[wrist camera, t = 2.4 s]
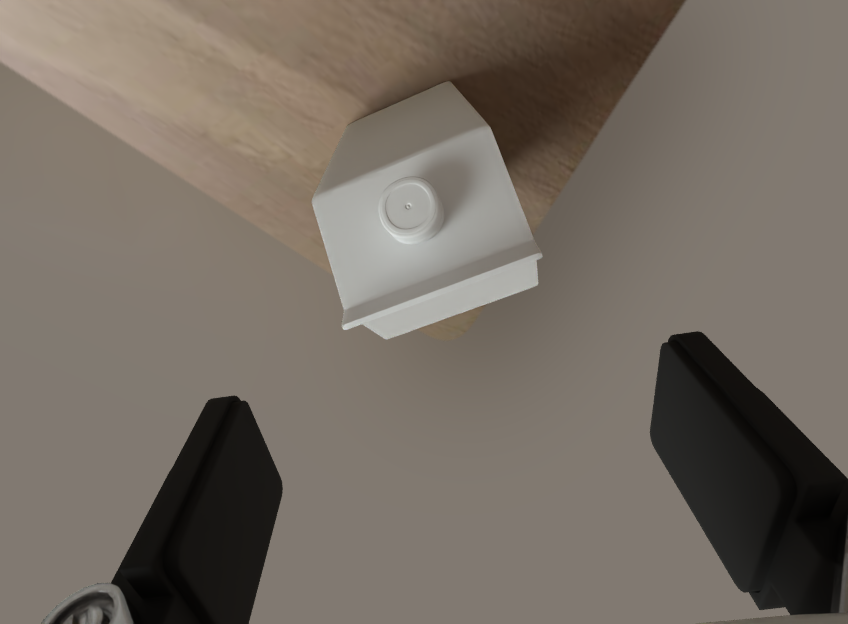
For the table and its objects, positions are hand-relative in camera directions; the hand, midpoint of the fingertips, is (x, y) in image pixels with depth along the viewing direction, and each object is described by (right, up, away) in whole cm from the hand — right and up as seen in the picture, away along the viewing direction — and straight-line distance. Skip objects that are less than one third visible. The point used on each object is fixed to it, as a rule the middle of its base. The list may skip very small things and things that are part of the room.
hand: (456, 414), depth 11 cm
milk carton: (-1, +13, +21) cm, 25 cm away
